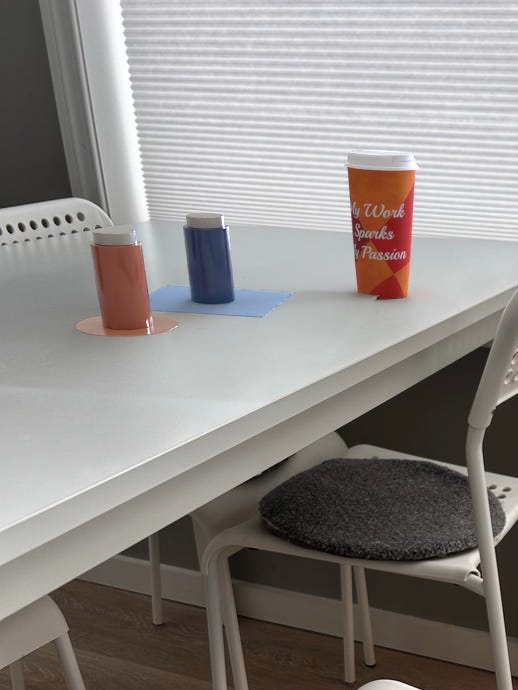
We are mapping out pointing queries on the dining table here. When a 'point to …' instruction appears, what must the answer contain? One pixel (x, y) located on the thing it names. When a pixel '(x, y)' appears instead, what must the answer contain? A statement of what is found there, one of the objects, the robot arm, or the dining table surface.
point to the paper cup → (382, 219)
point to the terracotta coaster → (96, 328)
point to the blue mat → (243, 305)
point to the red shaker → (120, 279)
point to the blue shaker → (209, 258)
